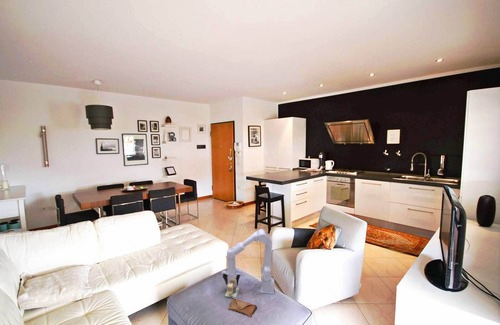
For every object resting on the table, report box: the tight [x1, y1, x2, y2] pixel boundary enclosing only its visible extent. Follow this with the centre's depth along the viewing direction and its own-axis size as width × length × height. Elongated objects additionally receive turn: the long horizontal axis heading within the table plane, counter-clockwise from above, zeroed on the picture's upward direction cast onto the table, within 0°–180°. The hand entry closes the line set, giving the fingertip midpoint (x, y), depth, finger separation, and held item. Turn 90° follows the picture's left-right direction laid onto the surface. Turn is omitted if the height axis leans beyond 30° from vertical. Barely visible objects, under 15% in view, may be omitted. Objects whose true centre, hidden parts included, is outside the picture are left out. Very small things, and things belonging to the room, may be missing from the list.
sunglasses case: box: [227, 297, 258, 318], centre depth 146 cm, size 18×7×7 cm, turn 66°
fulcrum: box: [224, 286, 240, 299], centre depth 162 cm, size 8×10×3 cm
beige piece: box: [226, 276, 237, 295], centre depth 161 cm, size 12×3×5 cm, turn 170°
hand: (232, 284), depth 162 cm, fingers open, 7 cm apart
